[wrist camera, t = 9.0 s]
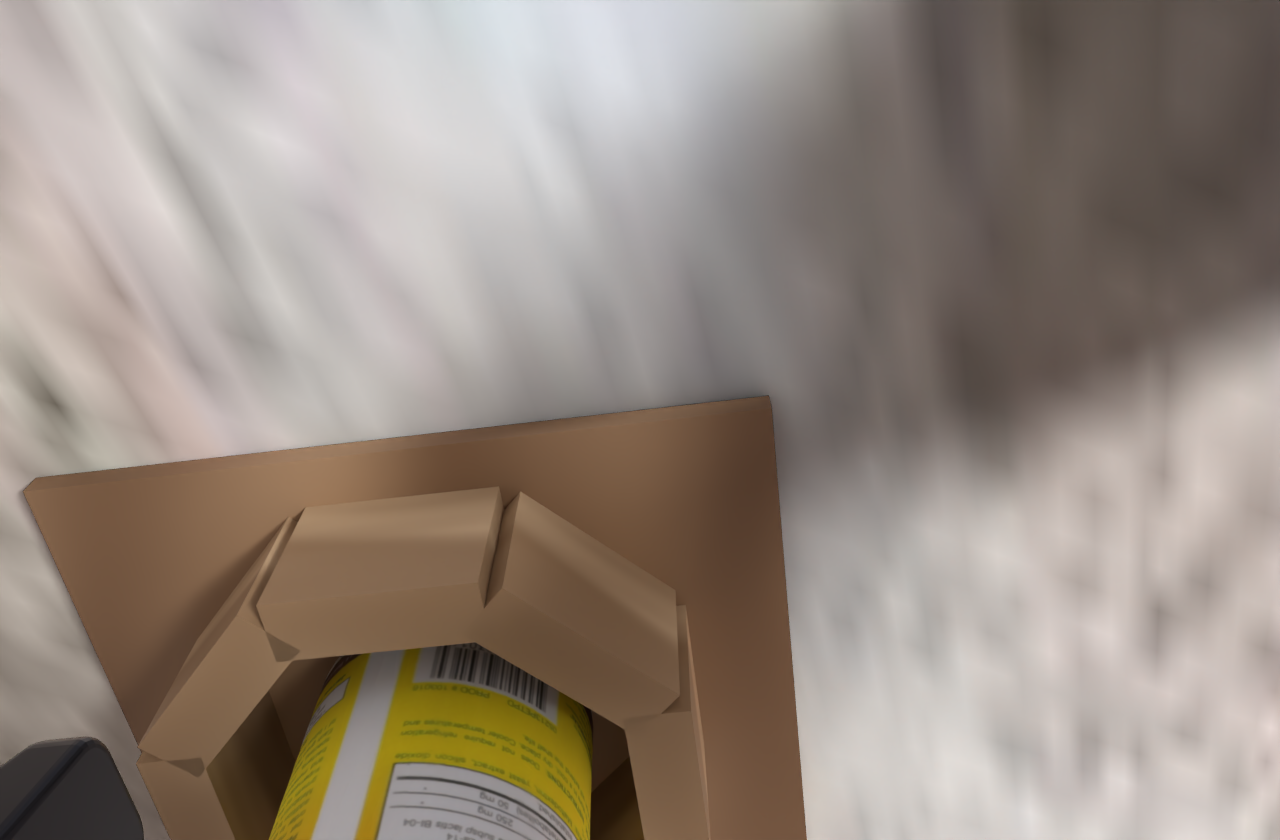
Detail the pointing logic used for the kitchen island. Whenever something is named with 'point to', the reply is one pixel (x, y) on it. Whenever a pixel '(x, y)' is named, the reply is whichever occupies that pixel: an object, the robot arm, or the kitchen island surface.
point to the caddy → (455, 604)
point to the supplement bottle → (440, 753)
